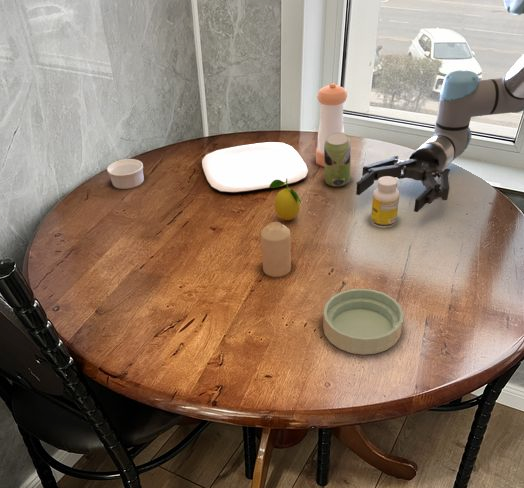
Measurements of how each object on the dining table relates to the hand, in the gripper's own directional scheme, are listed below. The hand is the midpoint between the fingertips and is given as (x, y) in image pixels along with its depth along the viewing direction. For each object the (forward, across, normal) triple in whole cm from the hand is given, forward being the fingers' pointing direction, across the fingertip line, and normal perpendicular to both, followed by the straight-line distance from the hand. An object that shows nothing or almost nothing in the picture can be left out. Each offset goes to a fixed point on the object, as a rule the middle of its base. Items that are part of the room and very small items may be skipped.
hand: (386, 197), depth 113 cm
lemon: (+11, +18, -6) cm, 22 cm away
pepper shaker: (-19, +26, -6) cm, 32 cm away
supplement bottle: (0, 0, -6) cm, 6 cm away
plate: (-5, +40, -6) cm, 40 cm away
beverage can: (-9, +18, -6) cm, 21 cm away
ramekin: (+17, +63, -6) cm, 65 cm away
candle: (+27, +9, -6) cm, 29 cm away
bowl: (+33, -14, -6) cm, 36 cm away
